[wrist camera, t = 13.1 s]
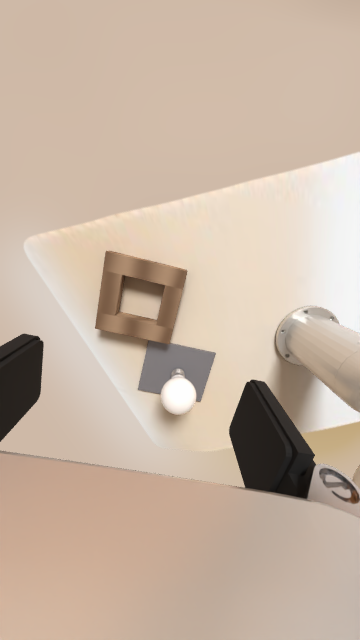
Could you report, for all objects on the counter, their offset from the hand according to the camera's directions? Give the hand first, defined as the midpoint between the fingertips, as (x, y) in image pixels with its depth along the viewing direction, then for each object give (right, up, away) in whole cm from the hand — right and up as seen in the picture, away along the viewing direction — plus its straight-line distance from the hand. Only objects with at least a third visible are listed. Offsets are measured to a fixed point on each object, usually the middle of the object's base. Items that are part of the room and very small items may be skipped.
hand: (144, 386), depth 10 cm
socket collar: (-6, +7, +32) cm, 34 cm away
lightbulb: (+1, -8, +37) cm, 38 cm away
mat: (+1, -8, +37) cm, 38 cm away
